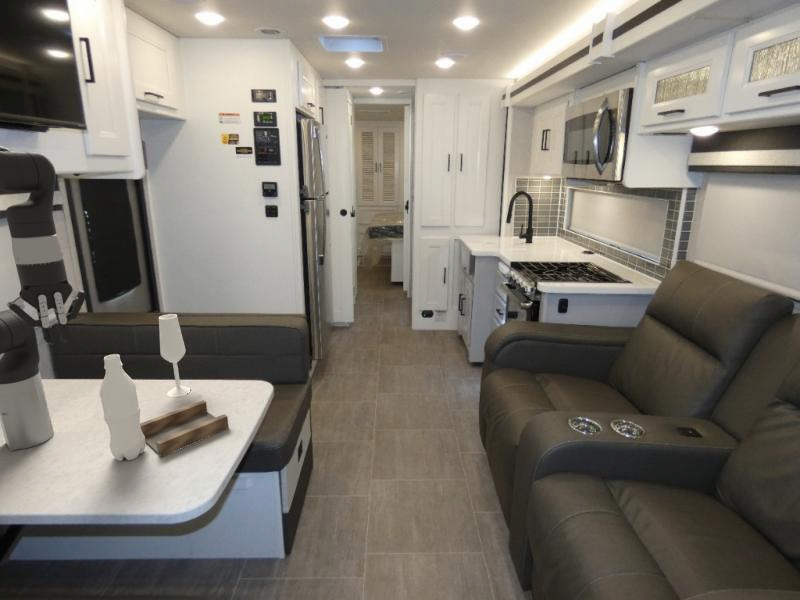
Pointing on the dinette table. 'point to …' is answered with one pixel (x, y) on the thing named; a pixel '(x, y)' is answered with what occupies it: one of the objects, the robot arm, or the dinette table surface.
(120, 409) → the water bottle
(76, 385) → the dinette table surface
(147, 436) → the walnut cradle
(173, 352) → the champagne flute
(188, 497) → the dinette table surface
